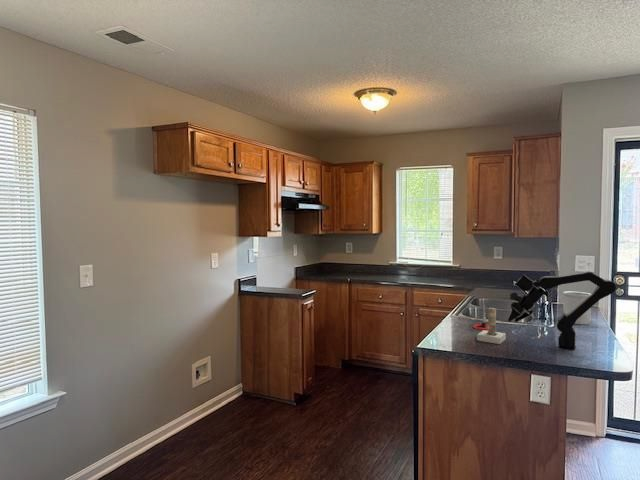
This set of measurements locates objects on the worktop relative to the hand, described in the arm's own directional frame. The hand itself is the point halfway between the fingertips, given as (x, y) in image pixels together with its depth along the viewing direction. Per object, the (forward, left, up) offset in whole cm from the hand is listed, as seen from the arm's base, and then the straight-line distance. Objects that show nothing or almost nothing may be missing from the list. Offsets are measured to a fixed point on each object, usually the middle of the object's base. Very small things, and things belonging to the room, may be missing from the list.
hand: (512, 321), depth 218 cm
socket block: (+9, +4, -10) cm, 14 cm away
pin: (+9, +4, -10) cm, 14 cm away
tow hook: (+20, -18, -10) cm, 29 cm away
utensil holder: (-22, -67, -10) cm, 71 cm away
